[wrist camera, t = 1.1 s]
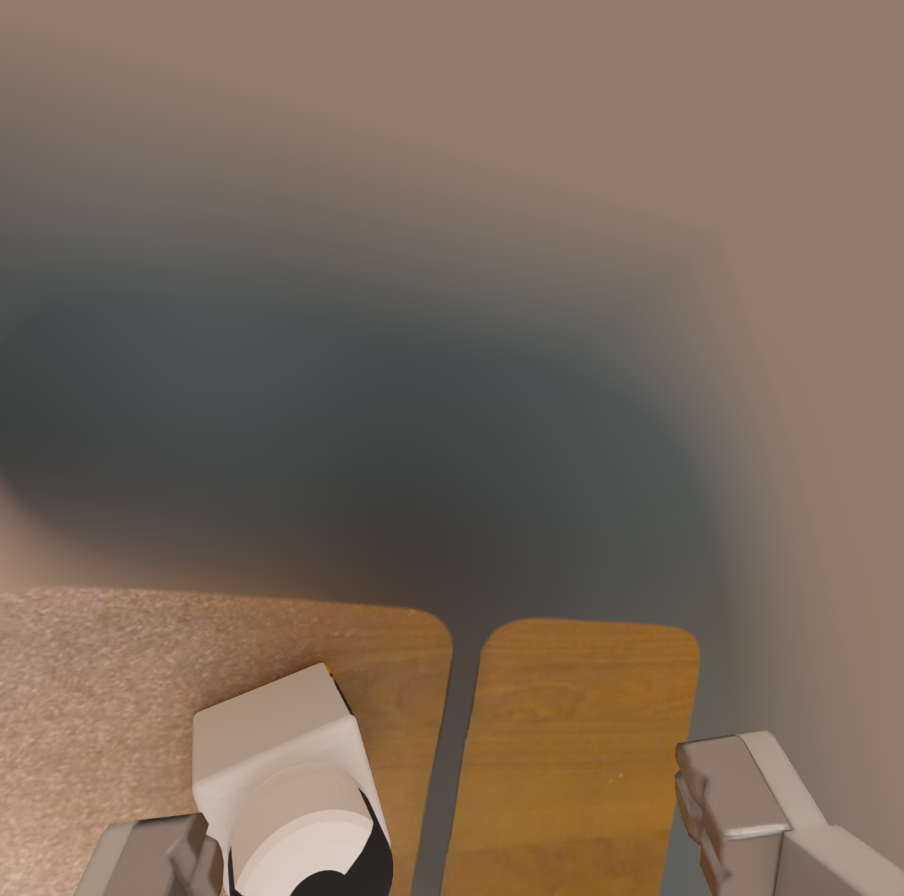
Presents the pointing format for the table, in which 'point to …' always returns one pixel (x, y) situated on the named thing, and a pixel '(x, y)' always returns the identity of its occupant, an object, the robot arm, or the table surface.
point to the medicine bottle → (291, 792)
